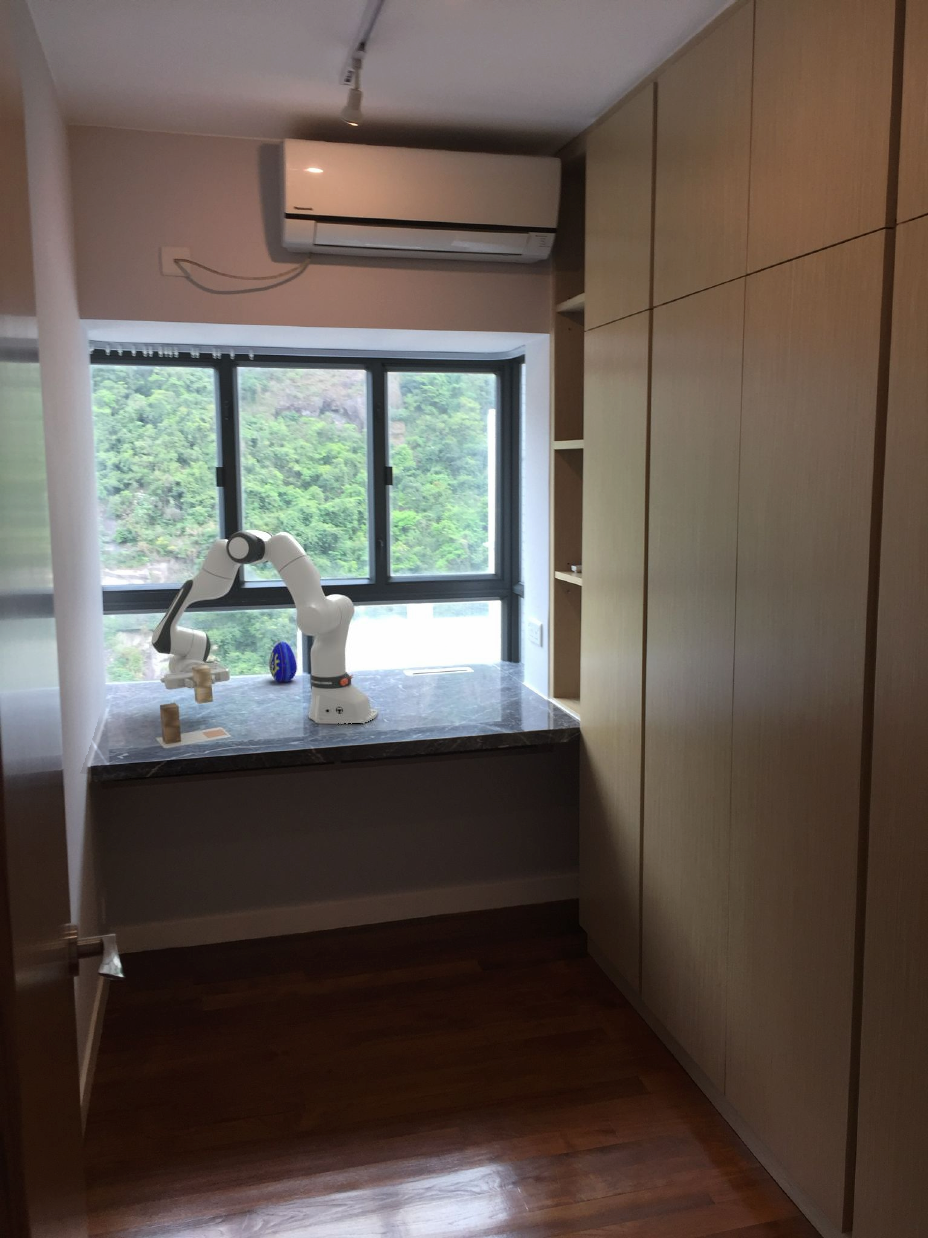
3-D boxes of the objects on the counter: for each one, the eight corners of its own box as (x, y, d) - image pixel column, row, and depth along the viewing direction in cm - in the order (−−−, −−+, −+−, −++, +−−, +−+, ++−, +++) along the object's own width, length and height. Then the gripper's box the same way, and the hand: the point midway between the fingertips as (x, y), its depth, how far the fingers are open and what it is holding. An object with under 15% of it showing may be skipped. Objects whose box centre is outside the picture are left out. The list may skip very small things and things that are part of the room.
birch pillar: (208, 698, 300) (206, 664, 298) (212, 701, 296) (210, 667, 294) (195, 700, 298) (192, 666, 296) (198, 704, 294) (196, 669, 292)
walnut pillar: (177, 737, 286) (174, 702, 284) (181, 741, 282) (178, 706, 280) (162, 740, 284) (159, 705, 281) (166, 744, 280) (163, 708, 278)
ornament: (266, 680, 353) (264, 641, 350) (288, 676, 358) (286, 637, 356) (279, 686, 344) (277, 646, 341) (302, 682, 350) (300, 642, 347)
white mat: (220, 728, 296) (220, 726, 296) (231, 738, 287) (231, 736, 287) (155, 740, 286) (155, 738, 286) (164, 750, 277) (164, 748, 277)
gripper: (158, 669, 301) (168, 678, 289) (221, 660, 311) (234, 668, 300) (159, 688, 302) (170, 698, 291) (222, 678, 312) (235, 687, 301)
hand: (203, 683), depth 295 cm, fingers closed on birch pillar, 4 cm apart
